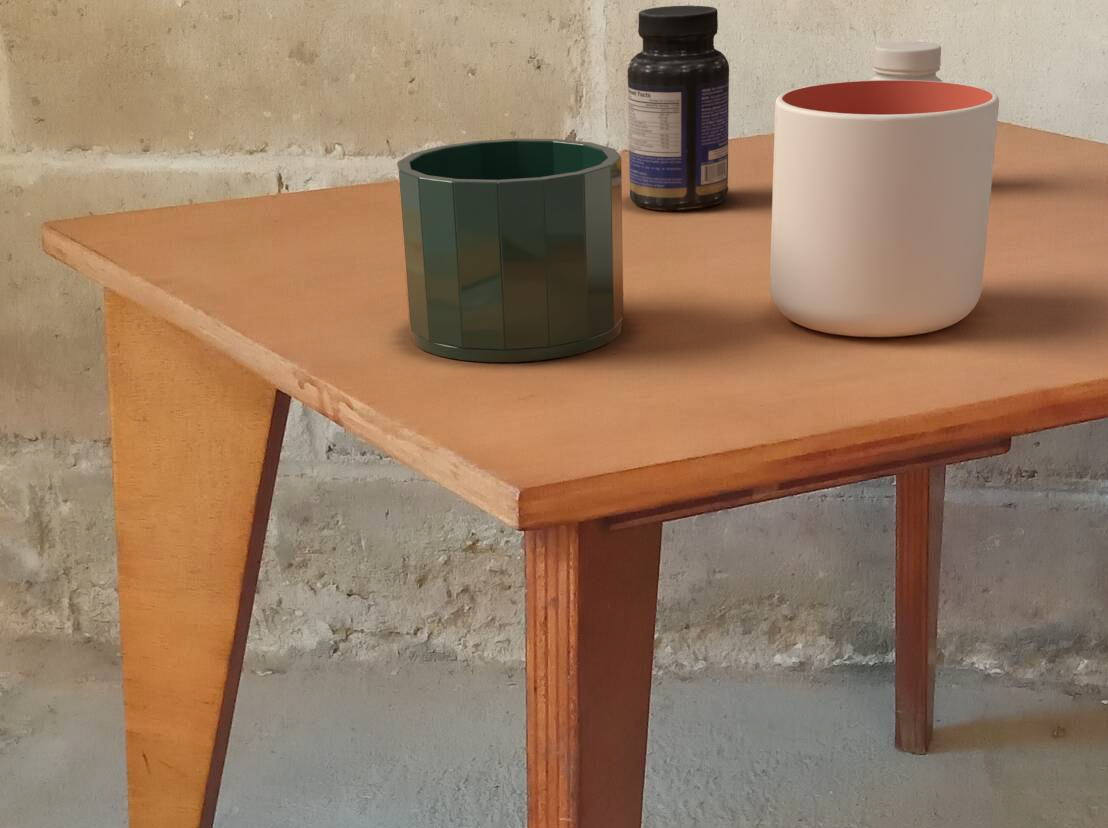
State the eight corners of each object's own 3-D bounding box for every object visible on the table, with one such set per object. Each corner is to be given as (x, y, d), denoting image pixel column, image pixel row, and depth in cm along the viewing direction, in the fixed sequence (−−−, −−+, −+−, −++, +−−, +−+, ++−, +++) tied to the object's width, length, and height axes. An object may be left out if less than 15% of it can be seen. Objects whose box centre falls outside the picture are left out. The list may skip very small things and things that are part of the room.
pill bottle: (708, 188, 109) (710, 1, 103) (742, 207, 104) (746, 11, 98) (616, 196, 108) (613, 8, 102) (646, 216, 102) (645, 19, 97)
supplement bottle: (851, 195, 106) (858, 50, 101) (868, 179, 109) (876, 39, 105) (928, 199, 104) (939, 51, 100) (943, 183, 108) (954, 40, 103)
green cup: (642, 306, 85) (641, 139, 81) (592, 367, 76) (588, 184, 72) (449, 299, 87) (438, 137, 84) (380, 357, 79) (365, 179, 75)
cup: (765, 344, 79) (772, 117, 74) (771, 288, 87) (778, 81, 82) (987, 346, 77) (1009, 114, 72) (971, 288, 86) (989, 78, 81)
